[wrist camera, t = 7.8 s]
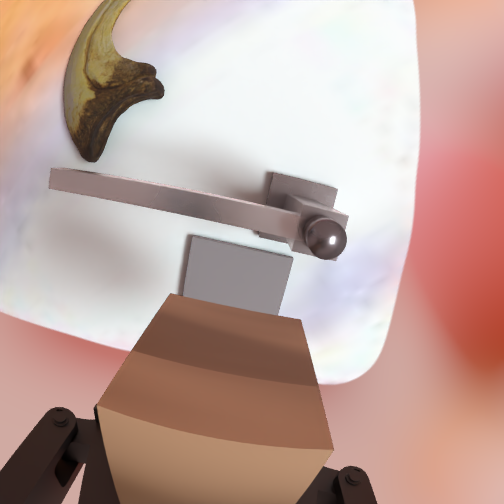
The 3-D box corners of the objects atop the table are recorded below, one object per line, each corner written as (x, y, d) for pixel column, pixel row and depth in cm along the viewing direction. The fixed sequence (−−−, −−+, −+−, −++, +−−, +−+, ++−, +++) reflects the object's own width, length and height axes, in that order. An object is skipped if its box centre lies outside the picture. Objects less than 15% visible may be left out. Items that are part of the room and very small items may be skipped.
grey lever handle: (107, 203, 23) (29, 224, 13) (117, 144, 22) (40, 134, 12) (319, 249, 24) (360, 300, 14) (335, 188, 23) (390, 201, 13)
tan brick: (252, 387, 17) (245, 558, 6) (185, 374, 16) (132, 537, 6) (285, 263, 15) (333, 450, 4) (203, 246, 14) (96, 405, 4)
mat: (179, 322, 26) (178, 325, 25) (194, 235, 24) (192, 236, 23) (268, 341, 26) (268, 345, 26) (292, 257, 24) (293, 259, 24)
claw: (164, 156, 23) (149, 153, 19) (63, 163, 23) (41, 162, 19) (187, -31, 18) (180, -51, 15) (94, -12, 18) (80, -26, 15)
